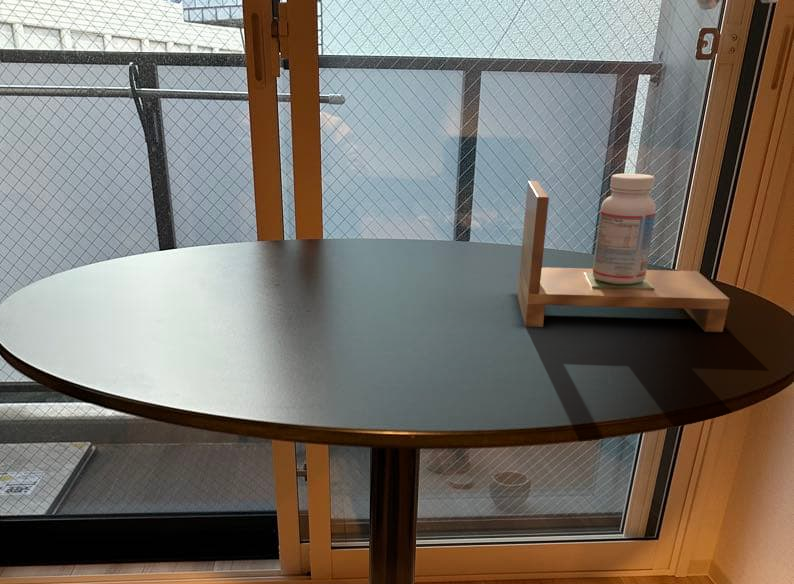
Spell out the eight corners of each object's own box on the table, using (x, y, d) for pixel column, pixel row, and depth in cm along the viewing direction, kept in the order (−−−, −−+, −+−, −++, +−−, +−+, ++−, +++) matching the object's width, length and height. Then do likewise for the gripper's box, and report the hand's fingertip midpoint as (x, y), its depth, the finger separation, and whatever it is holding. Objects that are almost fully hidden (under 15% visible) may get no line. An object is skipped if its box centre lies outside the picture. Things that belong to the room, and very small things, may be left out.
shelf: (691, 303, 102) (714, 183, 95) (722, 335, 90) (751, 201, 83) (517, 298, 103) (527, 180, 96) (524, 329, 91) (537, 196, 84)
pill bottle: (621, 272, 98) (636, 171, 92) (655, 282, 93) (673, 177, 88) (581, 276, 96) (593, 173, 90) (614, 287, 91) (629, 180, 85)
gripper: (958, -116, 65) (823, 24, 68) (790, -78, 82) (687, 32, 85) (933, -193, 62) (792, -42, 65) (763, -137, 79) (657, -20, 82)
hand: (731, 0), depth 75 cm, fingers open, 8 cm apart
